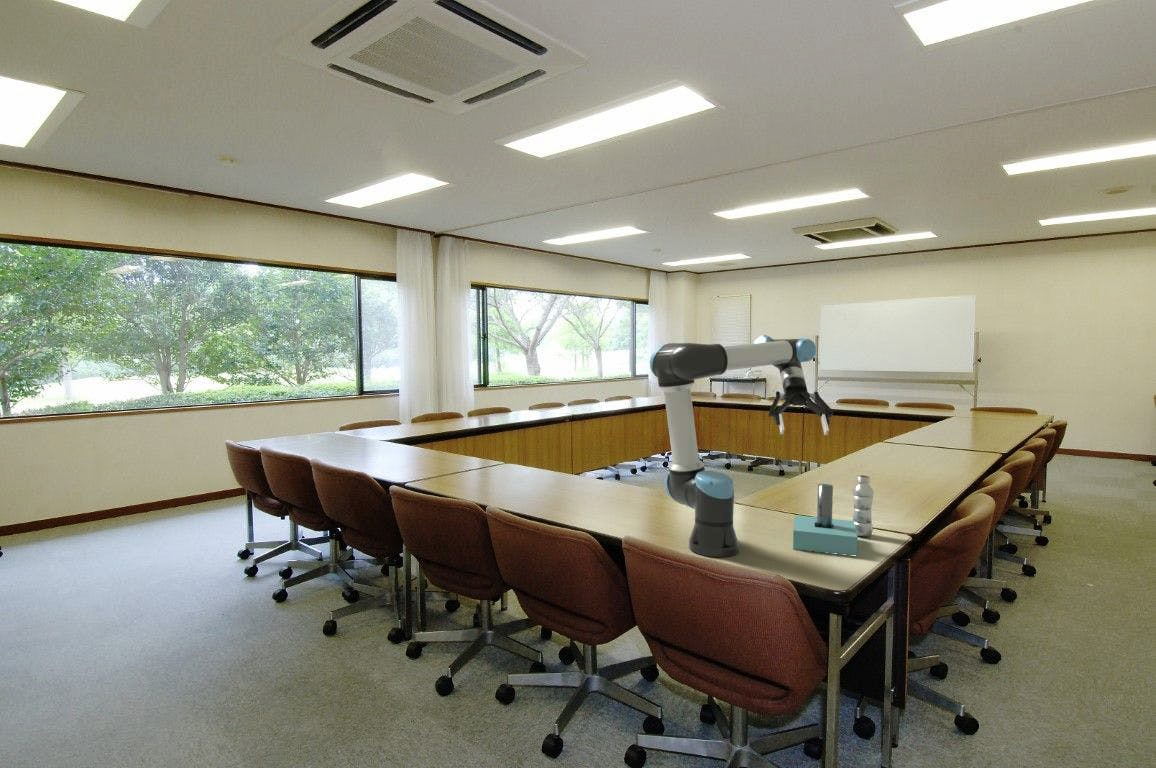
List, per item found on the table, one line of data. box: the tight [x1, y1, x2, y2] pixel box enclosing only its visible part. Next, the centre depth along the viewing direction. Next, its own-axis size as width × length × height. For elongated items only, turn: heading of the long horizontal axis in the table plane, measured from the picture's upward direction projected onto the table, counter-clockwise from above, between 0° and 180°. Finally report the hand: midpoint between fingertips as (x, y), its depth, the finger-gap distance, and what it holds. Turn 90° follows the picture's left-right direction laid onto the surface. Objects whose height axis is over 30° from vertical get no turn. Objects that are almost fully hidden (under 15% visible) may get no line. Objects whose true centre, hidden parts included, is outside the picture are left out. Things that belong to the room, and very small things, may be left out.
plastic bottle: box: [852, 474, 875, 537], centre depth 191 cm, size 6×7×20 cm
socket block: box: [792, 514, 858, 557], centre depth 183 cm, size 18×18×6 cm
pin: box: [816, 483, 834, 529], centre depth 183 cm, size 4×4×18 cm
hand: (804, 432), depth 184 cm, fingers open, 13 cm apart
